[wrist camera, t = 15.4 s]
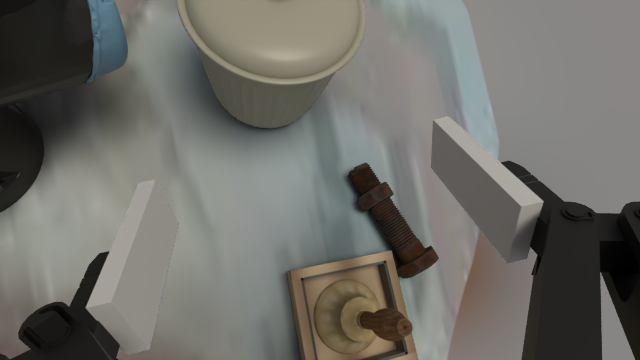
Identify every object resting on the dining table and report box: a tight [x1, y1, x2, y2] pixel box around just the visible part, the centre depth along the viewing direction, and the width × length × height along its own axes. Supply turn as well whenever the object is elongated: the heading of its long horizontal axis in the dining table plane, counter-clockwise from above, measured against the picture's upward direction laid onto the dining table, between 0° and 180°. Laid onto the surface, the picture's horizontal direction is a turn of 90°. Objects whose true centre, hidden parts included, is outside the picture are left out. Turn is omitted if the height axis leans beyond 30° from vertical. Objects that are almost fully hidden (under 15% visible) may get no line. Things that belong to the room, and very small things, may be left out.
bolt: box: [348, 163, 439, 278], centre depth 46 cm, size 6×5×15 cm
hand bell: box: [314, 279, 412, 354], centre depth 35 cm, size 8×8×16 cm
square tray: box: [287, 251, 418, 360], centre depth 42 cm, size 12×12×4 cm
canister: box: [176, 0, 366, 129], centre depth 40 cm, size 18×18×21 cm
